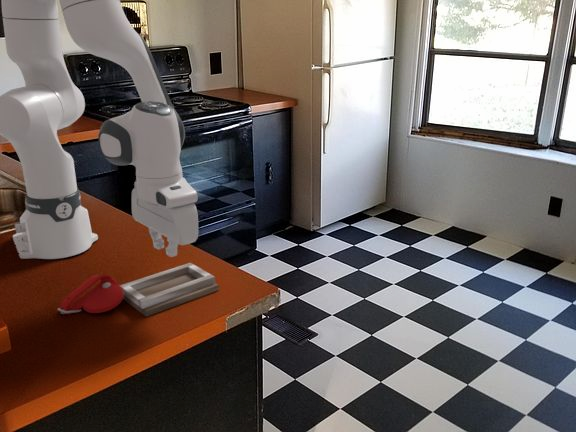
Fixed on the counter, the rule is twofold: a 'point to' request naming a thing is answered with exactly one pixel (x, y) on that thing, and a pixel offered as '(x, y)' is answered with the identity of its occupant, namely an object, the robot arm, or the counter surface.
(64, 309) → the tracker holder
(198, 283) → the grey rectangular tray
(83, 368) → the counter surface
